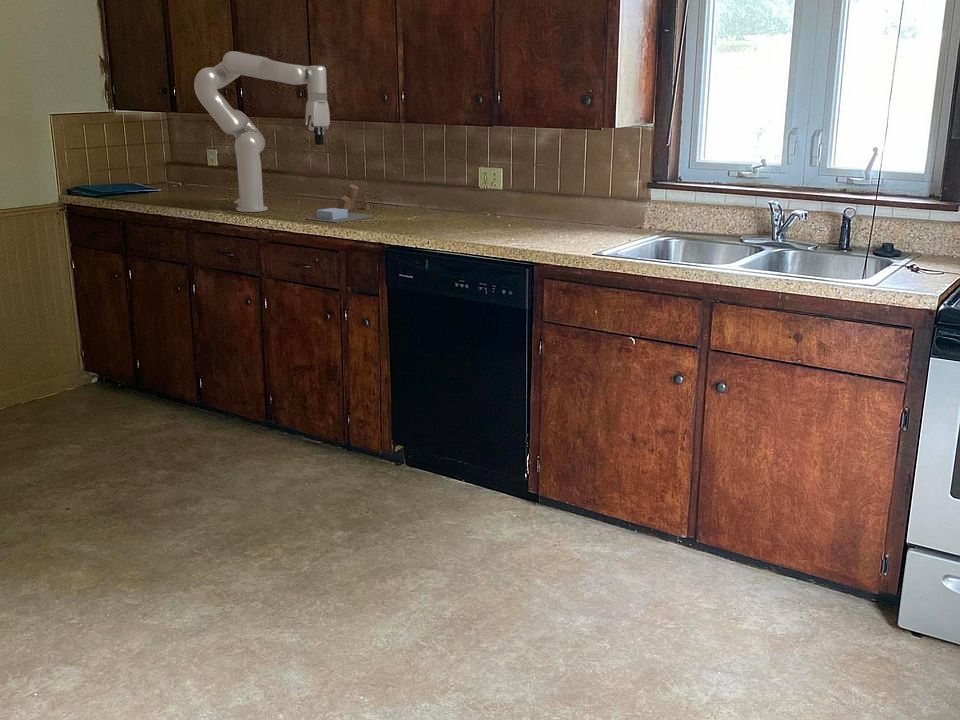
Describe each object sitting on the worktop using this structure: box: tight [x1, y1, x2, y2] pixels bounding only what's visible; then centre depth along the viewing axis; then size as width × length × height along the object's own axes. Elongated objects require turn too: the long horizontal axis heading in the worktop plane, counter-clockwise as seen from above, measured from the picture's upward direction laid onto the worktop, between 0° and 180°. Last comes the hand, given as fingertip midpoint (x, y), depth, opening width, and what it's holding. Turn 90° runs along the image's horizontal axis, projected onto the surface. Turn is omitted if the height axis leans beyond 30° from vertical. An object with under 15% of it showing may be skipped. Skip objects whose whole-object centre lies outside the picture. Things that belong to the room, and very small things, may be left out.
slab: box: [316, 207, 349, 220], centre depth 373 cm, size 8×3×9 cm
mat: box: [304, 212, 374, 224], centre depth 375 cm, size 16×22×1 cm
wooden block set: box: [336, 183, 370, 212], centre depth 395 cm, size 18×9×10 cm, turn 152°
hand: (319, 144), depth 386 cm, fingers closed
